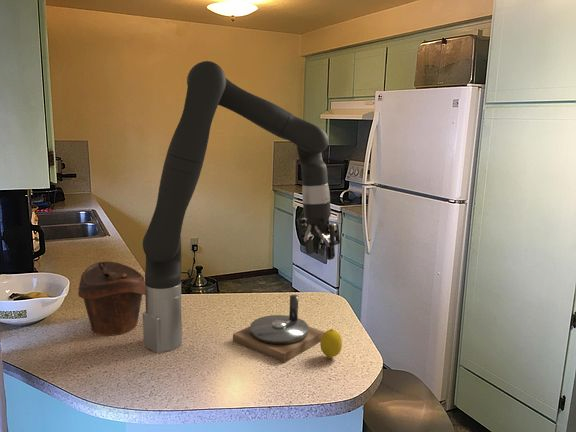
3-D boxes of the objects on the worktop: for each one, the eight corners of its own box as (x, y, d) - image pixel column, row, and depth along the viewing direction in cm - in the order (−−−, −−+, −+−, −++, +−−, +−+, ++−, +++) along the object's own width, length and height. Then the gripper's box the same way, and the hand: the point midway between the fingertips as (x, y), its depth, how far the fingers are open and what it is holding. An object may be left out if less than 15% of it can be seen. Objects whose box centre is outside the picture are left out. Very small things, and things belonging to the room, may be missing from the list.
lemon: (327, 351, 129) (329, 322, 128) (345, 357, 126) (346, 328, 125) (315, 358, 125) (316, 329, 124) (333, 365, 122) (334, 335, 120)
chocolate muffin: (131, 343, 130) (129, 279, 127) (65, 335, 134) (61, 273, 131) (161, 319, 148) (159, 262, 145) (101, 313, 152) (99, 257, 149)
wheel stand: (284, 363, 122) (284, 353, 122) (232, 342, 133) (232, 333, 133) (323, 339, 136) (324, 331, 136) (274, 322, 147) (274, 314, 147)
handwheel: (283, 350, 123) (284, 318, 121) (238, 332, 133) (238, 302, 131) (319, 330, 135) (320, 301, 134) (275, 315, 145) (275, 288, 144)
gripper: (289, 200, 137) (294, 255, 140) (324, 205, 126) (328, 264, 129) (309, 195, 141) (313, 248, 145) (344, 200, 130) (347, 257, 134)
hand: (320, 256), depth 137 cm, fingers open, 8 cm apart
